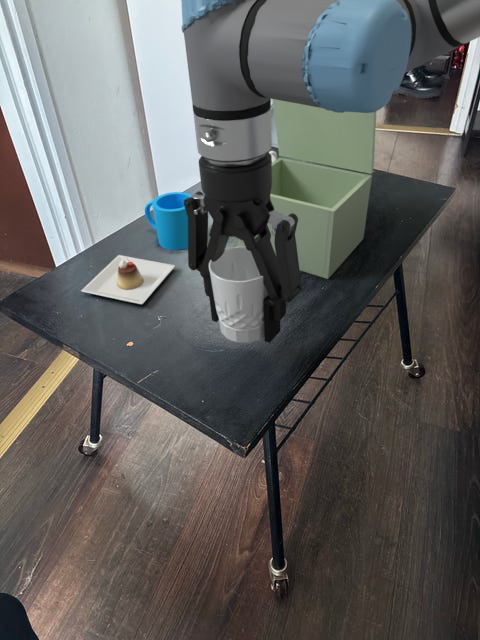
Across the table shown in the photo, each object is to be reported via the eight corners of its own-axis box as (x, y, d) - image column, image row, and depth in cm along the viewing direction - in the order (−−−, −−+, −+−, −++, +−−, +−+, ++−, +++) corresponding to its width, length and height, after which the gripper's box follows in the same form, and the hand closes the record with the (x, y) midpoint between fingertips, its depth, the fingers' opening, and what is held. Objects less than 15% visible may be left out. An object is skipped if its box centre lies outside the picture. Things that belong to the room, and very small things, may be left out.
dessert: (176, 270, 86) (172, 247, 83) (143, 309, 78) (138, 285, 74) (119, 259, 90) (114, 237, 87) (82, 296, 81) (74, 273, 78)
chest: (328, 279, 82) (334, 211, 74) (238, 251, 90) (235, 187, 82) (363, 239, 92) (372, 175, 83) (279, 217, 100) (280, 157, 92)
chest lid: (376, 79, 70) (391, 61, 73) (268, 68, 79) (285, 52, 81) (371, 174, 83) (384, 155, 86) (279, 155, 91) (293, 139, 94)
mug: (207, 235, 95) (203, 197, 90) (182, 254, 90) (177, 215, 85) (161, 221, 101) (155, 185, 95) (135, 239, 95) (127, 201, 90)
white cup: (286, 319, 64) (286, 255, 57) (255, 355, 59) (252, 288, 52) (236, 302, 67) (232, 240, 61) (204, 334, 62) (195, 270, 56)
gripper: (135, 150, 51) (168, 317, 65) (307, 185, 41) (301, 371, 56) (180, 129, 55) (201, 289, 70) (343, 156, 46) (328, 334, 60)
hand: (245, 325), depth 63 cm, fingers closed on white cup, 8 cm apart
